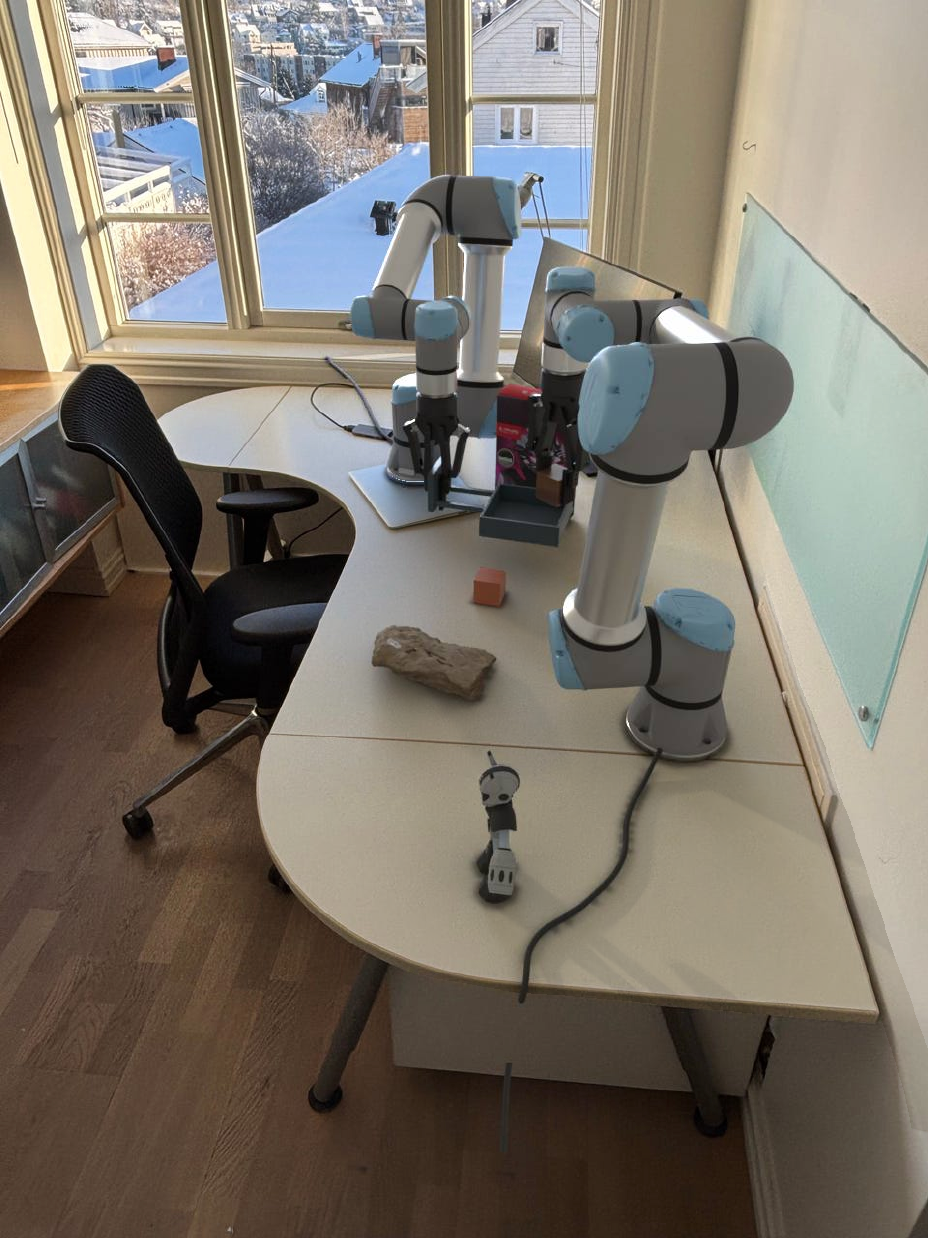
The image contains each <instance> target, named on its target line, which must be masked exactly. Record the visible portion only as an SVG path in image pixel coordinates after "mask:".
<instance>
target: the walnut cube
mask: <svg viewBox="0 0 928 1238" xmlns="http://www.w3.org/2000/svg"><path fill="white" fill-rule="evenodd" d="M564 469H566V468H565V467H563V466H561V465H558V464H554V465H552V466H550V467H547V468H545V469H543V470H540V471H538V472H537V481H536V498H538V499H540V500H542V501H544V502H546V503H548V504H551V505H553V506H555V507H558V506H560V505H561V504H560V503H561V490H562V473H563V470H564ZM576 493H577V486H576V487H575V491H574V499H575V500H576Z"/></svg>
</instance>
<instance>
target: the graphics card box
mask: <svg viewBox="0 0 928 1238" xmlns="http://www.w3.org/2000/svg"><path fill="white" fill-rule="evenodd" d="M537 393H542V391H541V389H540V388H535V387H532V386H531V387H530V386H526V385H525V386H524V385H521V384H520V385H519V384H515V383H508V384H506V385H505V386H504V388H503V389H502V390H501V391H500V392H499V393H498V394H497V430H496V438H495V477H494V489H495V488H496V487H497V485H498V483H502V484H510V485H518V486H526V487H534V488H536V481H537V473H536V470H535V468H536V457H535V453H534V452H533V451H529V450H528V449H527V442H528V426H529V404H528V397H529V396H532V395H534V394H537ZM544 412H545V410H544ZM569 425H570V424H569ZM534 442H535V441H534ZM550 450H551V451H552V452H551V453H549V454H547V456H548V455H550V456H552V465H554V464H558V465H561V466H563V467H565V468H567V466H566V458H565V449H564V441H563V433H562V432H561V431H560V425H559V424H558V423H557V427H556V430H555V433H554V437H553V440H552V443H551V447H550ZM549 452H550V451H549ZM575 505H576V498H575V499H574V501H573V507H572V513H571V515H570V518H569V520H571V518H573V516H574V515H575Z"/></svg>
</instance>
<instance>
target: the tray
mask: <svg viewBox="0 0 928 1238" xmlns="http://www.w3.org/2000/svg"><path fill="white" fill-rule="evenodd" d="M441 476H442V468H441V456H440V458H439V459H438V460H437V462H436V463H435V464H434V466H433V467H432V469H431V470H430V471H429V473H428V492H427V513H435V511H436V510H437V509H438V508H439V507H444V509H450V510H451V509H453V510H458V511H459V510H460V511H467V512H473V513H474V512H475V513H480V515H479V516H478V517H479V519H478V537H483V538H489V539H495V540H503V541H509V542H511V541H512V542H517V543H524V544H532V545H538V546H546V547H553V548H559V546H560V544H561V541H562V539H563V536H564V533H565V531H566V528H567V525H568V523H569V521H570V519H571V518H570V515H571V513H572V507H573V501H572V502H570V503H568V504H566V505H560V506H558V507H555V506H553V505H551V504H548V503H546V502H544V501H542V500H540V499H538V498H536V488H534V487H526V486H518V485H510V484H502V483H498V485H497V487H496V488H495V487H494V490H493V489H486V488H485V489H484V488H476V487H470V486H462V485H456V484H455V485H454V484H451V490H450V492H449V493H451V492H452V493H458V494H466V495H473V496H474V495H475V496H481V497H489V499H488V501H487V502H486V504H485V505H479V504H472V503H465V502H456V501H449V500H446V501H442V500H439V484H438V480H439V479H440V477H441ZM569 518H570V519H569Z"/></svg>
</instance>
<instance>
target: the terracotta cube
mask: <svg viewBox="0 0 928 1238" xmlns="http://www.w3.org/2000/svg"><path fill="white" fill-rule="evenodd" d="M506 579H507V570H504V569H503V570H502V569H495V568H489V567H483V566H480V567H479V569H478V571H477V573H476V575H475V576H474V579H473V595H472V597H473V598H472V599H473V600H472V602H473V603H474V604H479V605H485V606H492V607H498V608H500V606H501V603H502V601H503V600H504V597H505V594H506V585H507V584H506V583H507V580H506Z"/></svg>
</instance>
